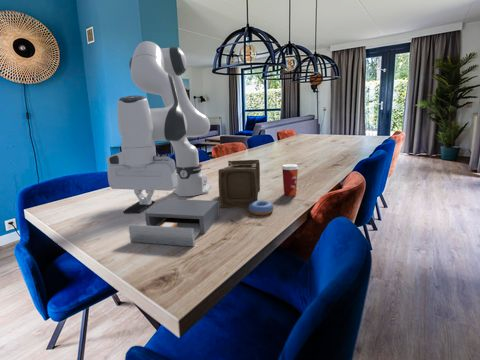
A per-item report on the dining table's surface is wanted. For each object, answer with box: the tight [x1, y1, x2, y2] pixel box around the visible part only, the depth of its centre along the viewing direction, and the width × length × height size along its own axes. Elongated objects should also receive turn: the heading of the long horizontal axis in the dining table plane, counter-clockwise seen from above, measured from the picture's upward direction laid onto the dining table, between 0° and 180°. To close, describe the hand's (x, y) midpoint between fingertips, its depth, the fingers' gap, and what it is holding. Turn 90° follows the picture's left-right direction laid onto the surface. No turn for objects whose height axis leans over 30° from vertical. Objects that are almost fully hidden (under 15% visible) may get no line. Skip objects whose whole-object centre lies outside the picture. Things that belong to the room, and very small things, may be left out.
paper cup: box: [281, 163, 299, 197], centre depth 137 cm, size 8×8×14 cm
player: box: [144, 198, 220, 235], centre depth 109 cm, size 16×22×6 cm
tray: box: [128, 221, 201, 247], centre depth 100 cm, size 16×22×6 cm
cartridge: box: [161, 221, 178, 227], centre depth 97 cm, size 5×4×4 cm
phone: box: [122, 200, 155, 215], centre depth 130 cm, size 8×1×15 cm
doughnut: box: [248, 199, 274, 216], centre depth 117 cm, size 10×10×5 cm
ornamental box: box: [217, 159, 261, 209], centre depth 138 cm, size 35×18×18 cm, turn 173°
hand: (145, 204), depth 84 cm, fingers closed
